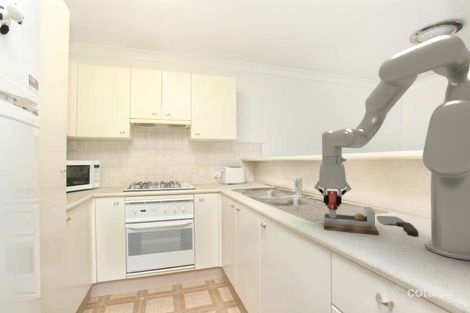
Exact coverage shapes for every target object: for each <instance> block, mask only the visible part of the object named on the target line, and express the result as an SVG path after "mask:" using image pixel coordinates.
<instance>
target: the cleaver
mask: <svg viewBox="0 0 470 313" xmlns="http://www.w3.org/2000/svg"><path fill="white" fill-rule="evenodd" d="M376 220H377V221H378V222H379V223H381V224H382V225H384V226H391V227H399V228H403V231H404V232H405V233H406V235H407V236H411V237H418V236H419V231H418V229H417V228H416V227H415V226H414V225H413V224H411V223H410V222H408V221H405V220H403V219H401V218H400V217H398V216H390V215H389V216H388V215H377V216H376Z"/></svg>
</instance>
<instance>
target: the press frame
mask: <svg viewBox="0 0 470 313" xmlns="http://www.w3.org/2000/svg"><path fill="white" fill-rule="evenodd" d="M355 215H356V214H355ZM355 215H353V214H352V215H351V214H341V213H336V219H332V218H329V212H328V213H327V212H325V213H324V217H323V225H324V224H333V225H344V226H354V227H365V228H368V227H369V228H375V226H376V212H375V210H374V209H373V208H372V207H371V206H363V215H364V216H365V221H355V220H354V216H355Z"/></svg>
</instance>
